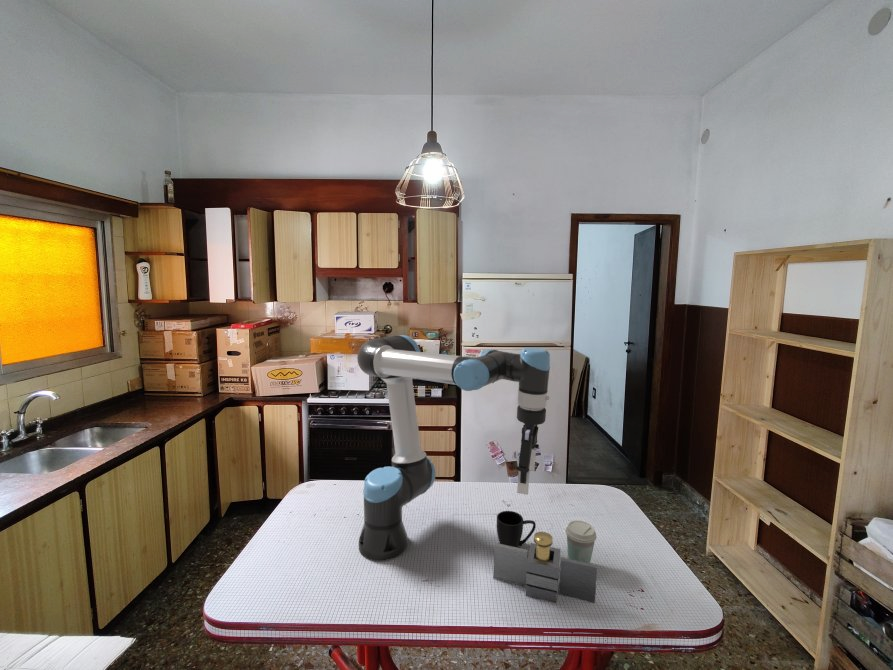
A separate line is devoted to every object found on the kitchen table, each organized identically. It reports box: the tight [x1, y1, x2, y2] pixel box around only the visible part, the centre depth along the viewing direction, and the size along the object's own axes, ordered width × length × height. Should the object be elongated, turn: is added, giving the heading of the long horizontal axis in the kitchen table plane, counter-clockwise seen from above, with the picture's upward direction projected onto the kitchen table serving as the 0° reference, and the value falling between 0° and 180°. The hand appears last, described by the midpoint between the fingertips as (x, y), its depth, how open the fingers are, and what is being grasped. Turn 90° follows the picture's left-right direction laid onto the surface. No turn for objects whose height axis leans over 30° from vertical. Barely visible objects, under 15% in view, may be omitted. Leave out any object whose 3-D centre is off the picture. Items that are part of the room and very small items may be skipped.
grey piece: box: [492, 542, 561, 591], centre depth 112 cm, size 17×8×10 cm, turn 72°
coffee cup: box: [565, 519, 597, 564], centre depth 119 cm, size 8×8×12 cm
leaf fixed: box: [525, 542, 598, 604], centre depth 109 cm, size 17×8×10 cm, turn 72°
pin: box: [533, 531, 554, 562], centre depth 110 cm, size 5×5×15 cm
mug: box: [496, 510, 537, 548], centre depth 128 cm, size 8×12×10 cm
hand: (526, 481), depth 112 cm, fingers open, 13 cm apart
